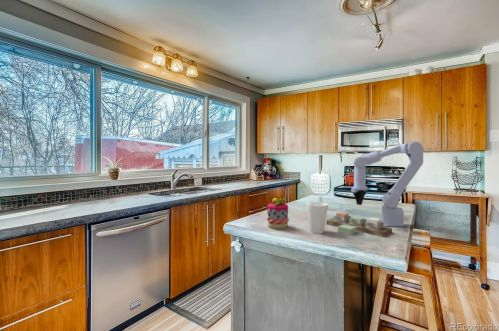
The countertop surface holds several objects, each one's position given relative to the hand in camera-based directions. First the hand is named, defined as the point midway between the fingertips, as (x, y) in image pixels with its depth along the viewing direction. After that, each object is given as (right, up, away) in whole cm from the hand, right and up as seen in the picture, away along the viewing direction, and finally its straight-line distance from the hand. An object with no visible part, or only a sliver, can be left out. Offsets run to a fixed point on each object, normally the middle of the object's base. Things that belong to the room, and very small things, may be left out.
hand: (359, 204), depth 136 cm
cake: (-45, -10, -9) cm, 47 cm away
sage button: (-6, -8, -11) cm, 15 cm away
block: (-13, -10, -18) cm, 24 cm away
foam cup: (-27, -10, -17) cm, 34 cm away
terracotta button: (-11, -7, -5) cm, 14 cm away
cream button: (-1, -7, -17) cm, 19 cm away
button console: (-6, -10, -11) cm, 16 cm away
